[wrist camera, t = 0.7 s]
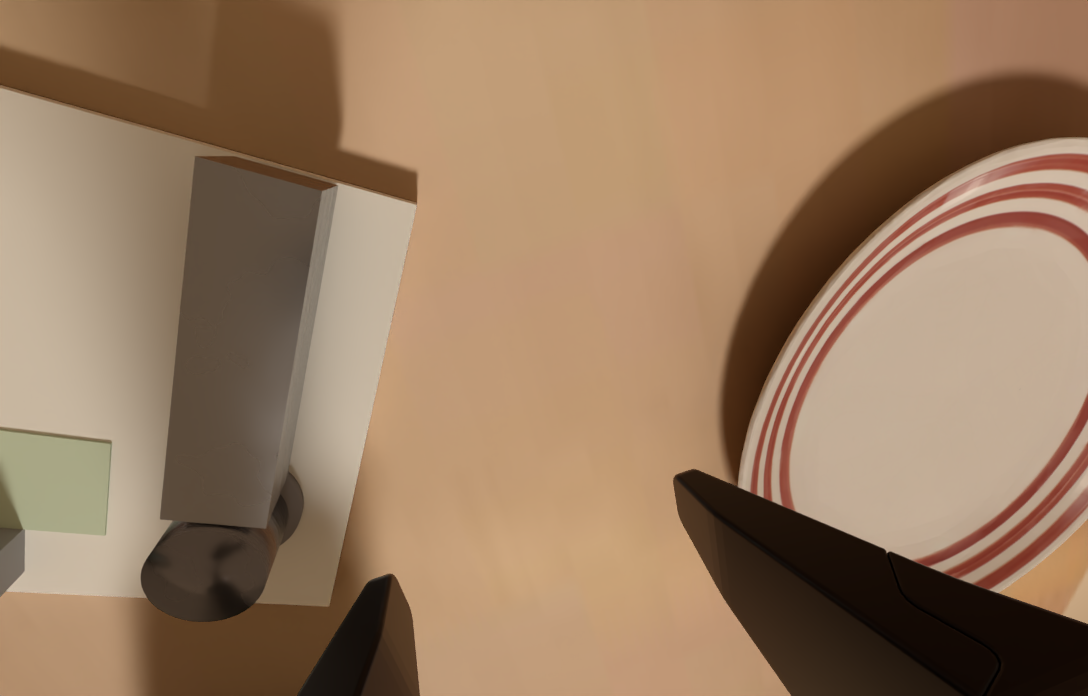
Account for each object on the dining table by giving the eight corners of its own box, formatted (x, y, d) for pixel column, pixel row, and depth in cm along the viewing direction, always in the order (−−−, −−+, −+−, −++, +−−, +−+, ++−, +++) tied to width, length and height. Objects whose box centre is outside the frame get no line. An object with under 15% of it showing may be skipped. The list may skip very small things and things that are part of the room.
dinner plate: (1210, 124, 26) (1313, 120, 23) (1050, 548, 36) (1107, 584, 33) (722, 157, 21) (772, 157, 18) (690, 640, 31) (720, 693, 28)
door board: (332, 589, 24) (316, 667, 20) (-276, 555, 18) (-455, 657, 14) (417, 202, 19) (416, 213, 15) (-384, -24, 13) (-702, -95, 9)
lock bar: (281, 557, 21) (258, 624, 18) (178, 550, 20) (136, 619, 17) (348, 188, 17) (332, 195, 14) (223, 152, 16) (177, 152, 13)
